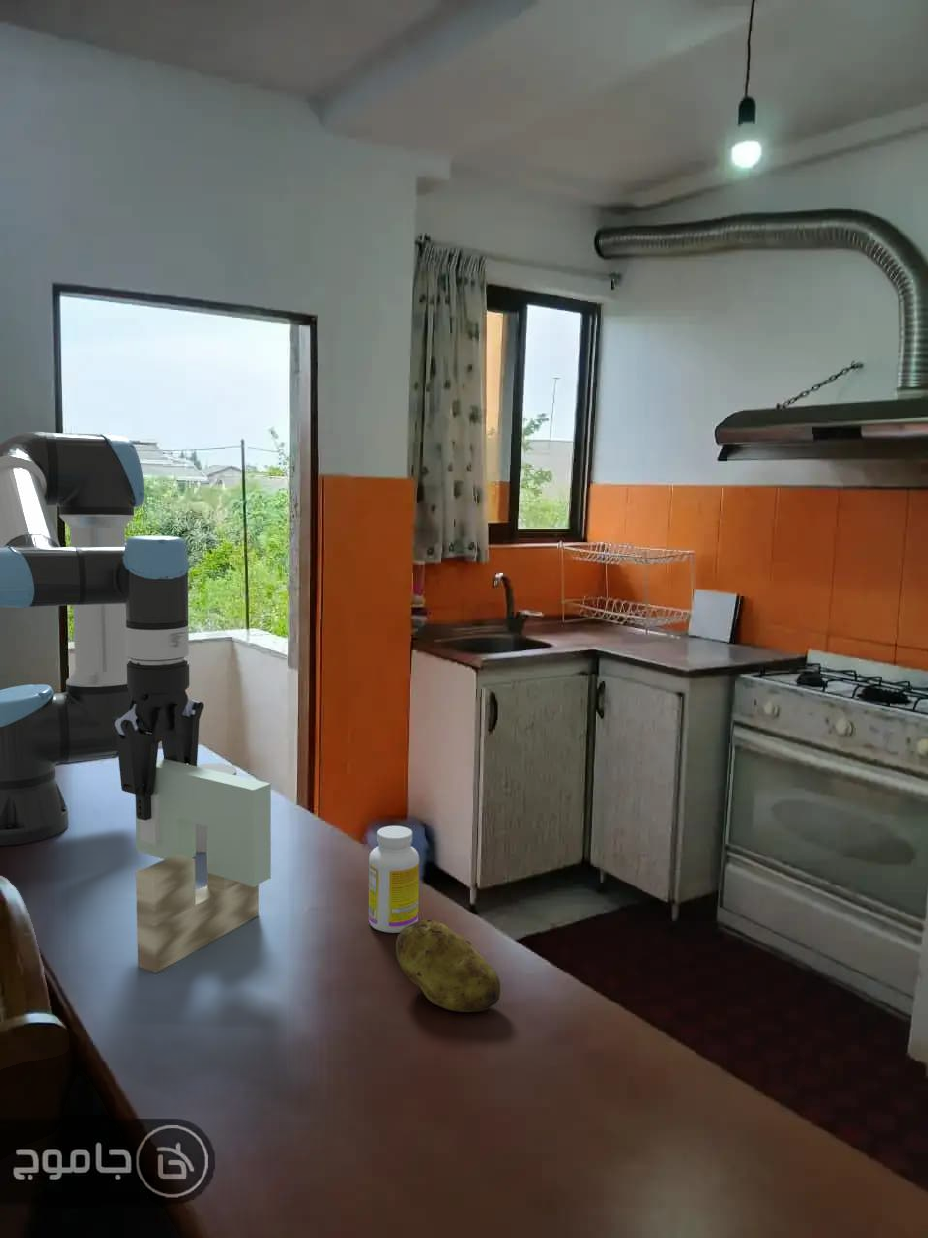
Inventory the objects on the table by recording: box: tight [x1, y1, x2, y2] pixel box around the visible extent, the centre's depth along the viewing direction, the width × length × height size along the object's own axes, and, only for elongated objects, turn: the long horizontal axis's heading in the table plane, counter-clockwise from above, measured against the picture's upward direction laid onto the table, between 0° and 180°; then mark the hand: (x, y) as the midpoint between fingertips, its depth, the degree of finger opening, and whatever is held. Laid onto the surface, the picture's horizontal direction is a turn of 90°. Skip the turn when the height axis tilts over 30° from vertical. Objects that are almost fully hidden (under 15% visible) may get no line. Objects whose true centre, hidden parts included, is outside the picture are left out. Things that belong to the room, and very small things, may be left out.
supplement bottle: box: [368, 825, 420, 934], centre depth 125 cm, size 7×7×13 cm
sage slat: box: [134, 756, 272, 887], centre depth 117 cm, size 20×3×12 cm, turn 61°
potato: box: [395, 918, 501, 1013], centre depth 107 cm, size 8×13×8 cm, turn 38°
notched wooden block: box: [135, 854, 260, 974], centre depth 119 cm, size 18×3×12 cm, turn 151°
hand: (161, 836), depth 121 cm, fingers closed on sage slat, 3 cm apart
